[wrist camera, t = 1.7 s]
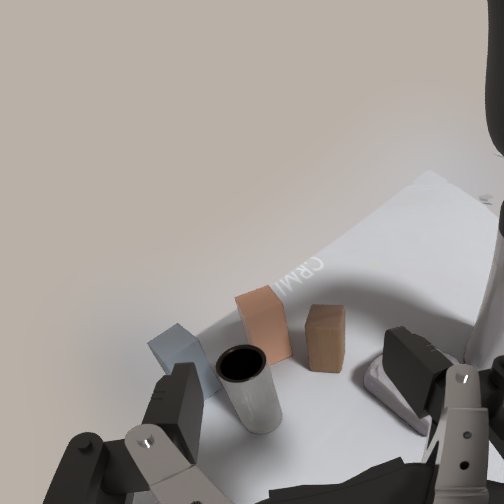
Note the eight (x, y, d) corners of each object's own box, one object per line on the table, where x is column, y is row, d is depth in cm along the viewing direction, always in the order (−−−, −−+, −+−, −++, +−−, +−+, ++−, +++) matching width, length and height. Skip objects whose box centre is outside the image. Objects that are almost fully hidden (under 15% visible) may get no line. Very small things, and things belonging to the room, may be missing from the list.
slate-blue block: (201, 370, 36) (177, 323, 32) (221, 387, 33) (198, 339, 29) (176, 389, 34) (147, 343, 30) (194, 408, 30) (164, 362, 26)
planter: (251, 440, 25) (224, 390, 21) (237, 411, 29) (209, 355, 25) (289, 423, 26) (275, 368, 22) (272, 396, 30) (254, 337, 26)
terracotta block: (279, 335, 39) (268, 285, 35) (292, 355, 35) (282, 303, 32) (250, 347, 39) (234, 297, 35) (260, 368, 35) (245, 317, 31)
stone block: (403, 353, 33) (353, 387, 28) (414, 325, 31) (363, 359, 26) (466, 398, 23) (424, 448, 19) (484, 371, 21) (445, 424, 17)
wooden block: (315, 348, 36) (311, 302, 32) (345, 350, 34) (345, 303, 30) (309, 372, 32) (303, 326, 29) (340, 374, 31) (340, 328, 27)
